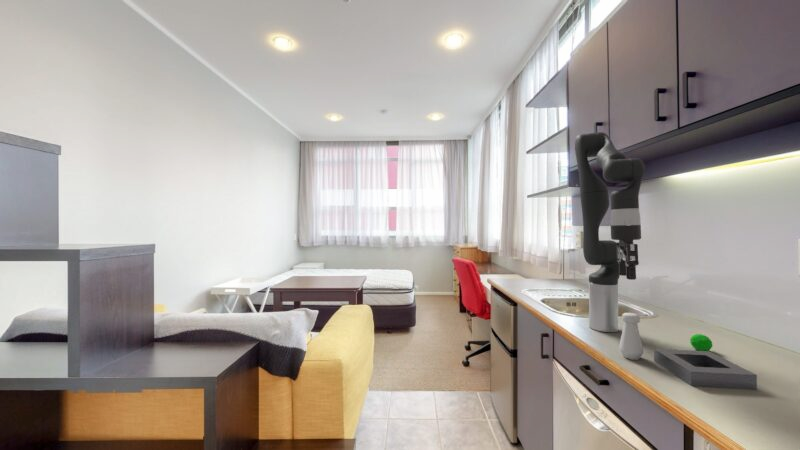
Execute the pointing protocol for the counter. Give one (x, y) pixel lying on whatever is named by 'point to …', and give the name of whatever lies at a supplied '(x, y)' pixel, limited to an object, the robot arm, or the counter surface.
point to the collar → (705, 369)
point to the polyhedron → (701, 342)
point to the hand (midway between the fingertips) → (627, 277)
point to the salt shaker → (631, 337)
